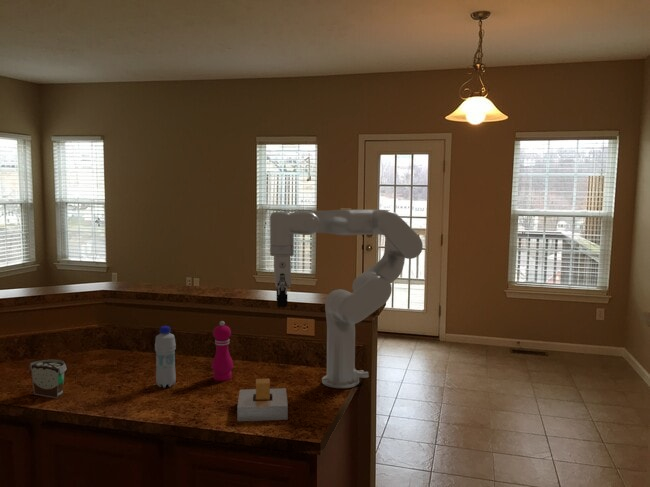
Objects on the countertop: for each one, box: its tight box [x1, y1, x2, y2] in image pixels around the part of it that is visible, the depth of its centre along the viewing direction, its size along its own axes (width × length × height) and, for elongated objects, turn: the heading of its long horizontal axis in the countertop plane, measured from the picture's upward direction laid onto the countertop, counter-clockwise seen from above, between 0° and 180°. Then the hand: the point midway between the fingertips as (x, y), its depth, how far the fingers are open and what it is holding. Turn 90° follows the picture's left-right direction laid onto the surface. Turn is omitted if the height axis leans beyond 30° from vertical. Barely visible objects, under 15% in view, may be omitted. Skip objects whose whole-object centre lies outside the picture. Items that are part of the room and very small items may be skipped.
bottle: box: [154, 325, 177, 389], centre depth 179 cm, size 7×7×20 cm
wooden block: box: [255, 378, 271, 401], centre depth 159 cm, size 4×4×9 cm
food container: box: [29, 359, 67, 399], centre depth 172 cm, size 12×6×10 cm, turn 71°
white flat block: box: [236, 387, 289, 422], centre depth 159 cm, size 14×14×4 cm
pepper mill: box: [211, 320, 234, 382], centre depth 187 cm, size 7×7×20 cm
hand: (281, 303), depth 174 cm, fingers open, 9 cm apart
